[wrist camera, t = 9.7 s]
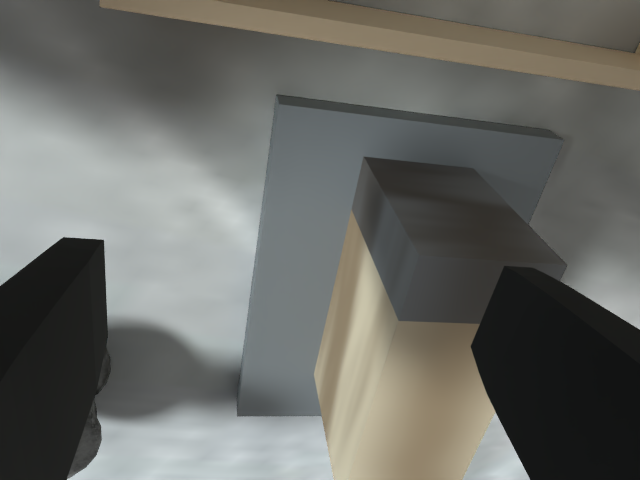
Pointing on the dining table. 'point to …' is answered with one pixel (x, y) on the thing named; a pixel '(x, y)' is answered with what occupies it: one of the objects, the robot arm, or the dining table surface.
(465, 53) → the wooden tray
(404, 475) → the capped box
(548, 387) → the robot arm
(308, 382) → the slate board
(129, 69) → the dining table surface
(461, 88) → the dining table surface
